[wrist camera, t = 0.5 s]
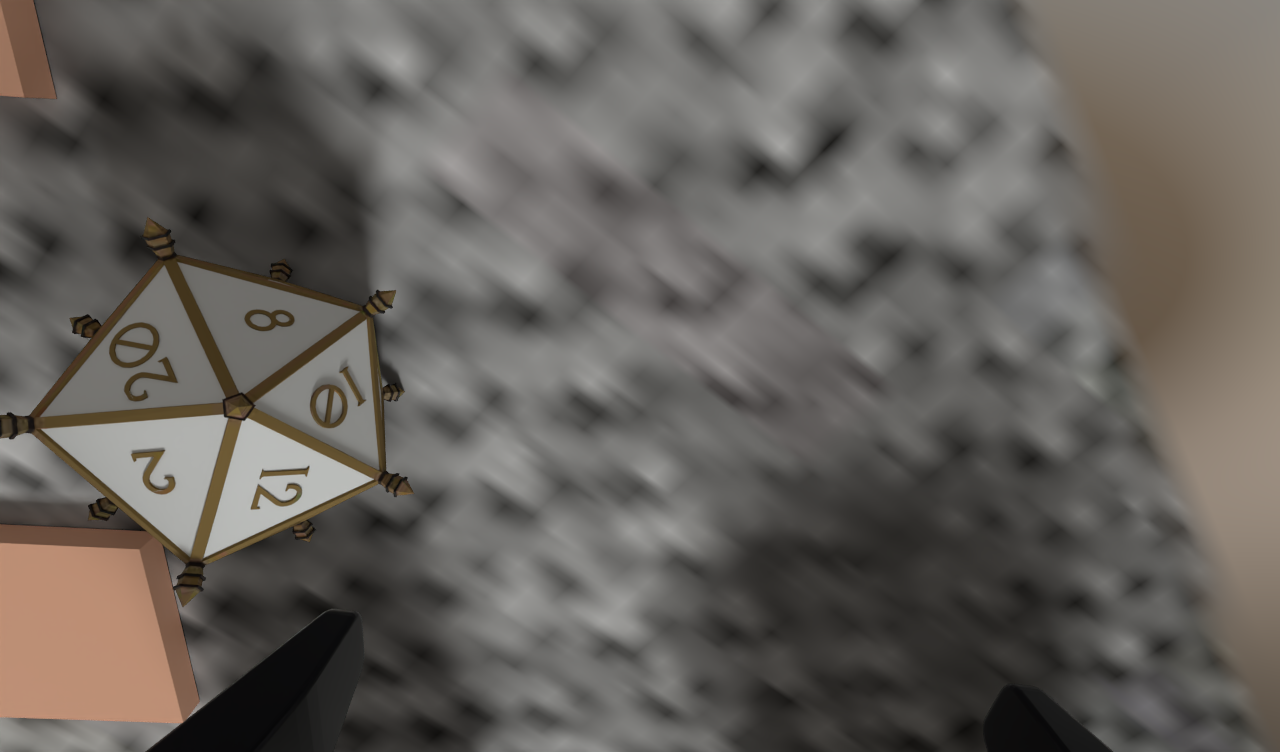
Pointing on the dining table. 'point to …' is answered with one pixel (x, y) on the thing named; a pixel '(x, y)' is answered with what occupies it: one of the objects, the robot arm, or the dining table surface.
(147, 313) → the game die
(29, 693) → the tile
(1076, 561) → the dining table surface
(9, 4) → the tile
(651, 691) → the dining table surface
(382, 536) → the dining table surface
